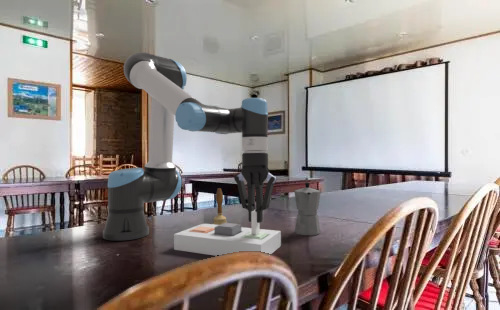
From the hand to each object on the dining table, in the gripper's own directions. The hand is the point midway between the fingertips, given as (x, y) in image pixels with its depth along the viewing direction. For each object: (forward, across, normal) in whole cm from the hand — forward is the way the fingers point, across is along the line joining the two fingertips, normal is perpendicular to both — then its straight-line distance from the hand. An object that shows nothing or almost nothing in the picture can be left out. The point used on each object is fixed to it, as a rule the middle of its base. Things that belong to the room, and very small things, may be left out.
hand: (255, 233), depth 92 cm
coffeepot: (+6, +8, +29) cm, 31 cm away
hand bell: (+6, -21, +16) cm, 27 cm away
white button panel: (+5, -9, 0) cm, 10 cm away
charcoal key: (+2, -9, 0) cm, 9 cm away
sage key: (+4, 0, 0) cm, 4 cm away
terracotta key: (+4, -18, 0) cm, 18 cm away
